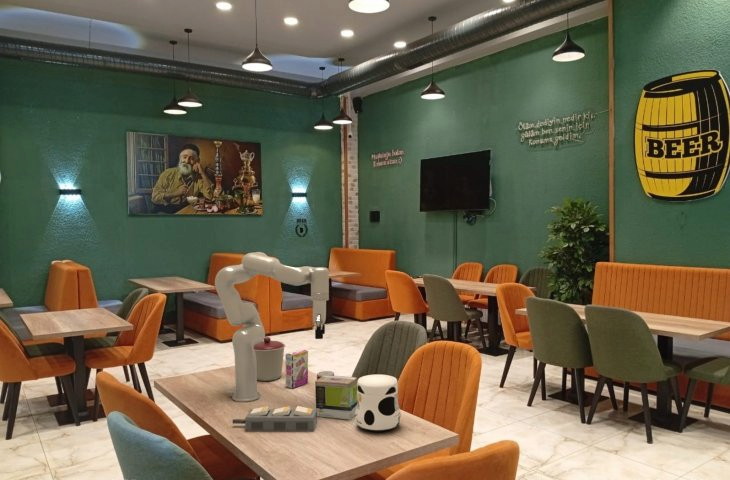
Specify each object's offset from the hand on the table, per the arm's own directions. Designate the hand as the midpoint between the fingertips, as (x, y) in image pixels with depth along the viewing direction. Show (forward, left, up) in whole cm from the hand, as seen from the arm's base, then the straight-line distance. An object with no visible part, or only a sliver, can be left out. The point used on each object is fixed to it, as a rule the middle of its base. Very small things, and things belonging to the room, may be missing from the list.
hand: (320, 336), depth 230 cm
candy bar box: (-15, +28, -30) cm, 44 cm away
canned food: (+1, +10, -30) cm, 32 cm away
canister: (-32, +40, -30) cm, 60 cm away
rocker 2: (-12, -24, -24) cm, 36 cm away
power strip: (-15, -24, -30) cm, 41 cm away
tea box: (+8, -11, -30) cm, 33 cm away
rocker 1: (-21, -24, -24) cm, 40 cm away
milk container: (+25, -24, -30) cm, 46 cm away
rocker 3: (-4, -24, -24) cm, 34 cm away
